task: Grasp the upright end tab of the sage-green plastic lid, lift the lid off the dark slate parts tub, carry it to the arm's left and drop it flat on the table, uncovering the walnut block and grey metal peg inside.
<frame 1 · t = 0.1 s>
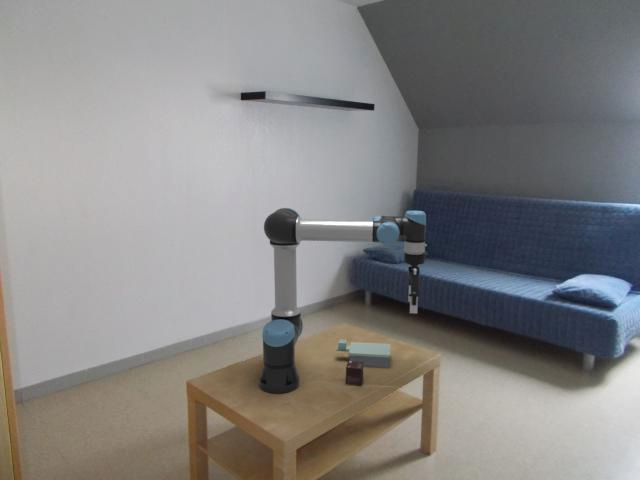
hand: (412, 307, 187), 28 cm above the table, fingers open, 13 cm apart
walnut block: (377, 361, 205), point 1 cm above the table, touching tub
lid: (369, 350, 204), point 5 cm above the table, touching tub
box: (354, 383, 187), on the table
tub: (369, 362, 205), on the table
metal peg: (361, 361, 204), point 1 cm above the table, touching tub
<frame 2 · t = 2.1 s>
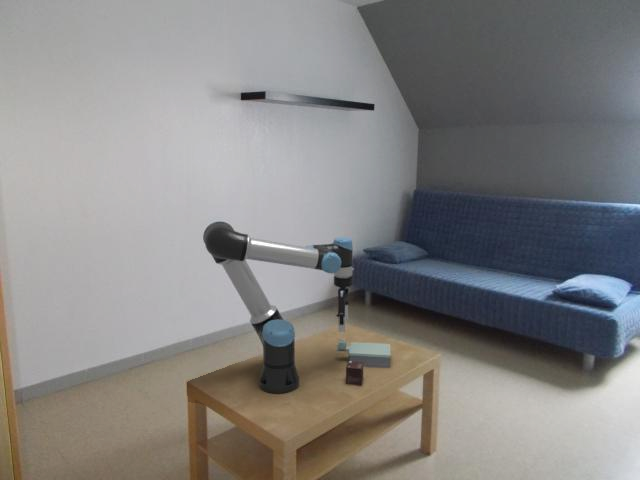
hand: (343, 325, 204), 15 cm above the table, fingers open, 13 cm apart
nothing on the table moved.
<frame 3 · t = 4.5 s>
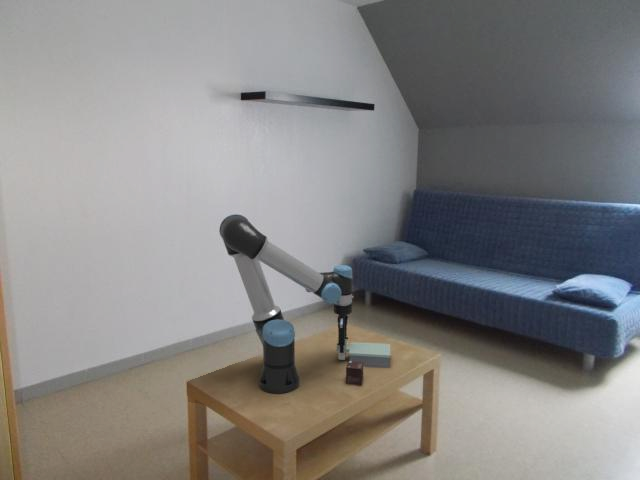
hand: (342, 356, 206), 2 cm above the table, fingers closed on lid, 4 cm apart
lid: (369, 350, 204), point 5 cm above the table, touching gripper, tub
everything else where it was.
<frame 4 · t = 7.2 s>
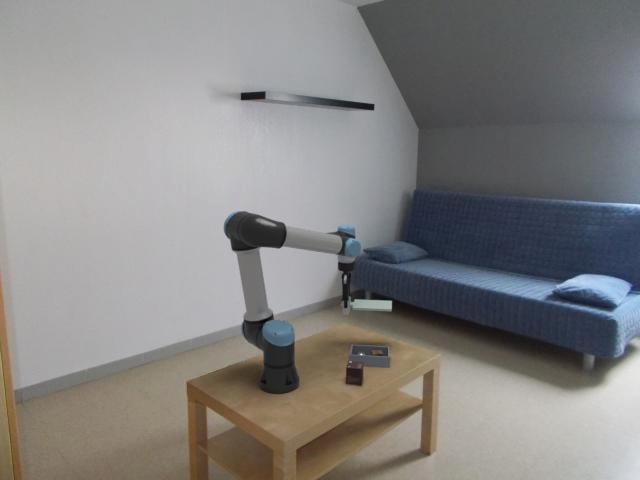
hand: (346, 312, 218), 16 cm above the table, fingers closed on lid, 4 cm apart
lid: (372, 306, 215), point 20 cm above the table, touching gripper
everything else where it was.
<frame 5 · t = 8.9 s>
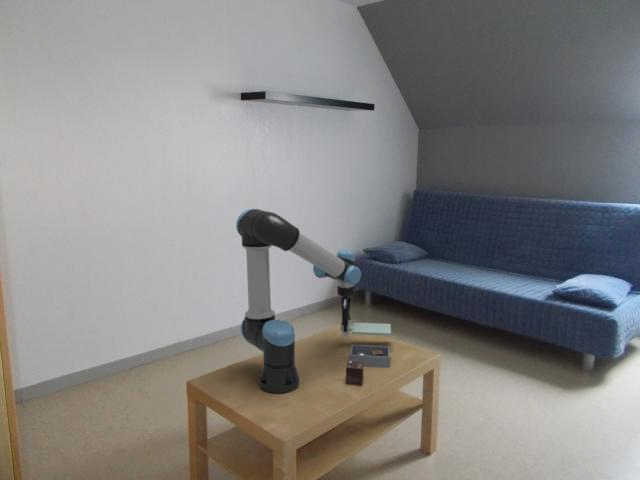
hand: (345, 336, 220), 5 cm above the table, fingers closed on lid, 4 cm apart
lid: (371, 329, 218), point 8 cm above the table, touching gripper
everything else where it was.
when the fingers open (1 cm above the table, at t = 10.1 s): lid drops 5 cm, on the table.
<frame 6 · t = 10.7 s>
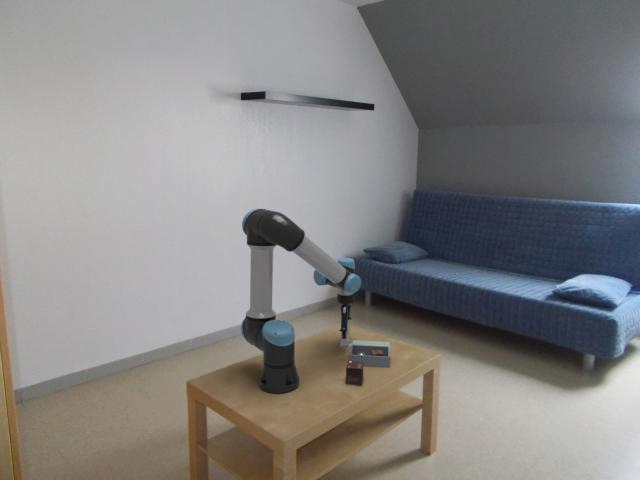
hand: (345, 339, 221), 3 cm above the table, fingers open, 13 cm apart
lid: (370, 348, 220), on the table
everything else where it was.
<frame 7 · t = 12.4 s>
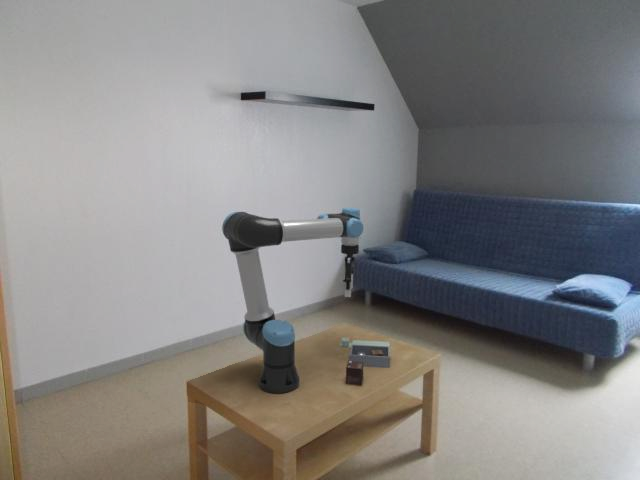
hand: (348, 292, 214), 26 cm above the table, fingers open, 13 cm apart
nothing on the table moved.
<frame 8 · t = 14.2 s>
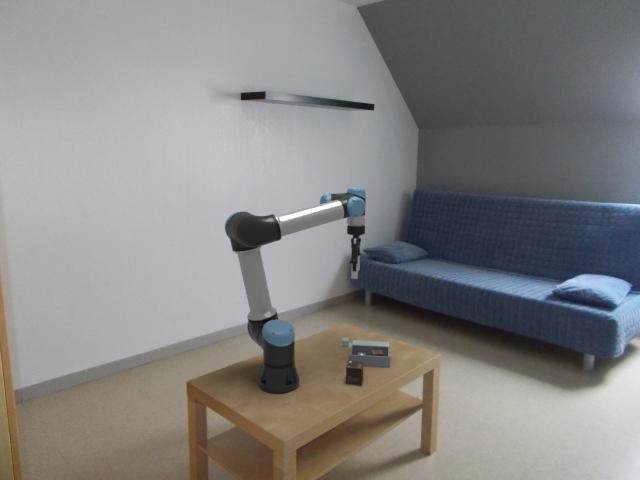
hand: (355, 274, 209), 35 cm above the table, fingers open, 13 cm apart
nothing on the table moved.
at the end: lid touching table; lid inside the target area (1.5 cm from its centre), on the table; the gripper is holding nothing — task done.
